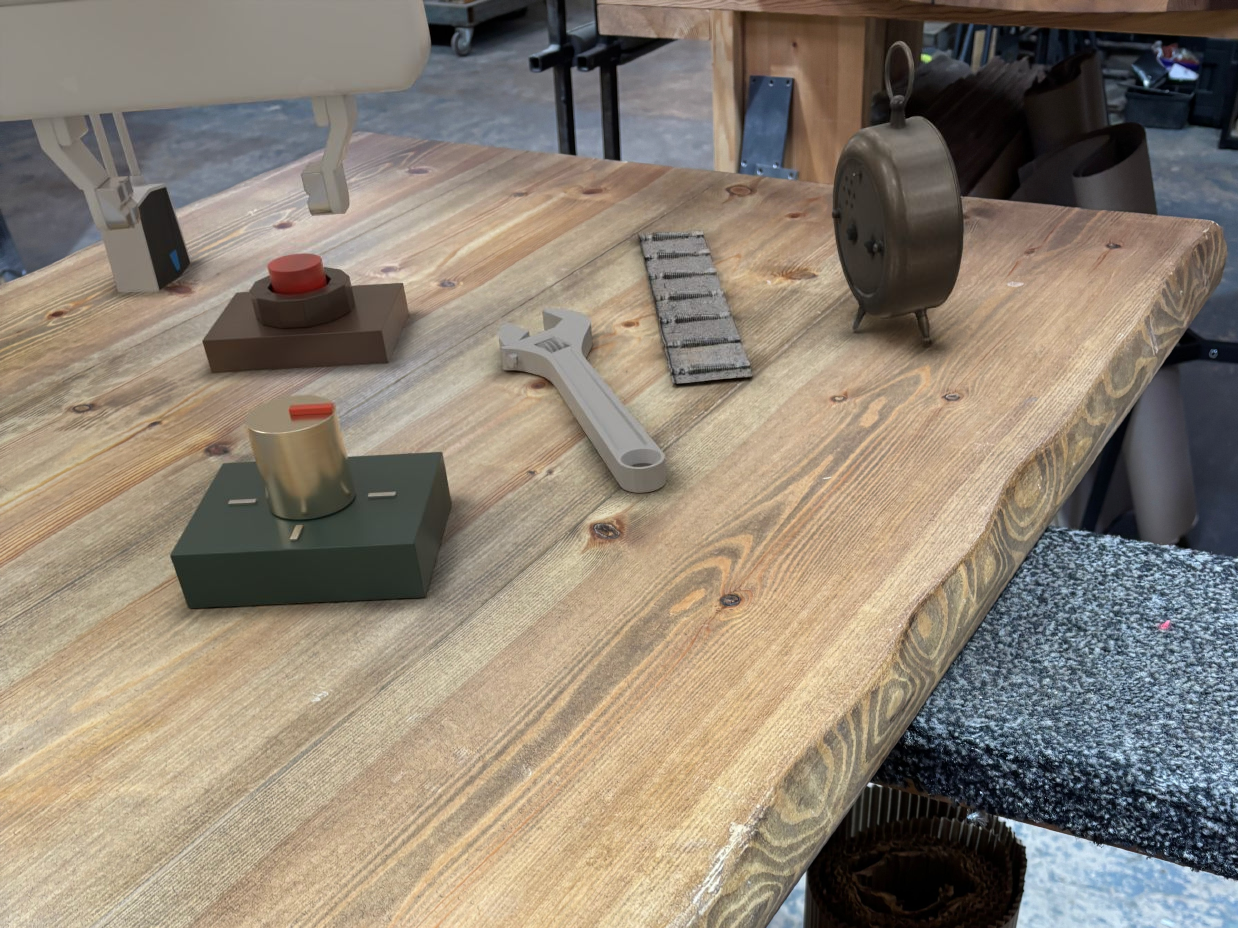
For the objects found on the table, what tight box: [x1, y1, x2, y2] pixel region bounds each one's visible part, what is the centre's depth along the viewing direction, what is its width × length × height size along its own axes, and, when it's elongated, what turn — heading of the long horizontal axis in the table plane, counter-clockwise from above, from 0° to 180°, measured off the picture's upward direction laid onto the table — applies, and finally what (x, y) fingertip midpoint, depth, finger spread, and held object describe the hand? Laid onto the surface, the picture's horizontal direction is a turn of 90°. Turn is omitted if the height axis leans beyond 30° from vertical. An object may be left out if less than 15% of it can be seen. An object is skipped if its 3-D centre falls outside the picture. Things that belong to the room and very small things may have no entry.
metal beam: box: [637, 229, 754, 385], centre depth 93 cm, size 30×1×5 cm
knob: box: [244, 394, 355, 520], centre depth 66 cm, size 4×4×5 cm
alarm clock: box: [831, 40, 965, 348], centre depth 82 cm, size 11×5×16 cm, turn 17°
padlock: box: [88, 112, 192, 293], centre depth 99 cm, size 7×4×15 cm, turn 173°
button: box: [266, 252, 327, 295], centre depth 89 cm, size 4×4×2 cm
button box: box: [201, 266, 410, 374], centre depth 91 cm, size 12×9×4 cm
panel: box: [169, 451, 453, 609], centre depth 68 cm, size 12×10×3 cm
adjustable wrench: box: [497, 308, 667, 494], centre depth 81 cm, size 25×6×2 cm, turn 14°
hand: (225, 219), depth 58 cm, fingers open, 8 cm apart
